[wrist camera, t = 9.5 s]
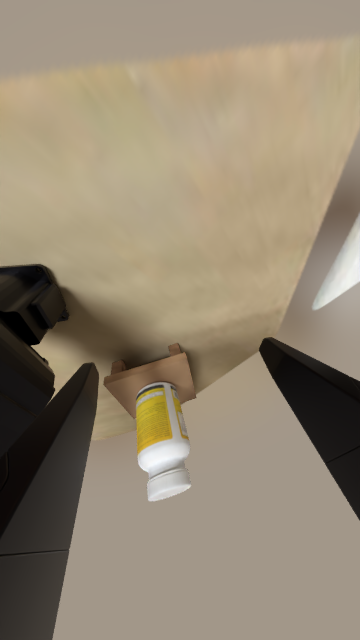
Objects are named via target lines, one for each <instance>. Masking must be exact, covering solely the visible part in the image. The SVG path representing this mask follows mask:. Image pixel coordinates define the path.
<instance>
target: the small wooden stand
mask: <svg viewBox="0 0 360 640" xmlns="http://www.w3.org/2000/svg"><path fill="white" fill-rule="evenodd" d="M168 347H169V351H170V355H171V357H168V358H165V359H162V360H159V361H155V362H152V363H149V364H146V365H142V366H139V367H136V368H133V369H130V370H126V365H125V363H124V362H123V360H121V361H117V362H114V363H112V371H111V375H110V376H107V377H105V378H104V386H105V387H106V388H107V389H108V390H109V391H110V393H111V394H112V395H113V396H114V397H115V398H116V399H117V400H118V401H119V403H120V404H121V405H122V406H123V407H124V408H125V409H126V410H127V411H128V413H129V414H130V415H131V416H132V417H133V418H134V419H135V418H136V396H137V394H138V392H139V391H140V390H141V389H142V388H144V387H145V386H147V385H149V384H152V383H156V382H167V383H170V384H172V385H173V386H174V387H175V388H176V390H177V394H178V398H179V402H180V403H183V402H186V401H189V400H192V399H195V398H196V394H195V389H194V385H193V381H192V377H191V372H190V368H189V364H188V360H187V356H186V354H185V352H184V353H181V352H180V349H179V346H178V343H176V344H173V345H170V346H168Z"/></svg>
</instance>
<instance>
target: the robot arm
mask: <svg viewBox="0 0 360 640" xmlns="http://www.w3.org/2000/svg"><path fill="white" fill-rule="evenodd" d="M37 268H39V269H41V271H42V272H40V271H38V270H37ZM65 307H66V304H65V302H64V300H63V298H62V296H61V294H60V292H59V290H58V288H57V286H56V285H54V284H53V282H52V280H51V278H50V276H49V274H48V272H47V270H46V268H45V267H44V266H43V265H41V264H30V265H16V266H2V267H0V640H52V638H53V633H54V628H55V622H56V617H57V612H58V607H59V601H60V596H61V591H62V586H63V581H64V575H65V571H66V565H67V560H68V555H69V548H70V544H71V539H72V534H73V528H74V523H75V518H76V513H77V508H78V503H79V497H80V493H81V487H82V482H83V477H84V472H85V467H86V461H87V456H88V451H89V446H90V441H91V436H92V431H93V425H94V420H95V415H96V408H97V396H98V383H99V373H98V371H97V369H96V366H95V364H94V363H93V362H91V363H85V364H83V365H82V366H81V367H80V368H79V369H78V370H77V372H76V373H75V374H74V375H73V376H72V377H71V378H70V379H69V381H68V382H67V383H66V384H65V385H64V386H63V387H62V389H61V390H60V391H59V392H58V393H57V394H56V395H55V397H54V398H53V399H52V400H51V398H52V396H53V394H54V392H55V388H54V387H53V386H54V378H55V375H54V373H53V371H52V369H51V368H50V367H49V366H48V361H47V360H46V359H45V358H42V357H41V356H40V355H39V354H38V353H37V352H36V351H35V350H34V349H33V348H32V347H31V345H37V344H39V343H40V342H41V340H42V339H43V337H44V335H45V334H46V332H47V331H48V329H52V328H53V327H54V325H55V323H56V322H59V321H66V320H68V318H69V314H68V312H67V310H66V308H65ZM62 315H64V316H65V317H63V316H62ZM259 351H260V354H261V356H262V358H263V360H264V362H265V364H266V366H267V368H268V370H269V372H270V374H271V376H272V378H273V379H274V381H275V383H276V384H277V386H278V388H279V389H280V391H281V393H282V394H283V396H284V397H285V399H286V401H287V402H288V404H289V406H290V407H291V408H292V411H293V412H294V414H295V415H296V417H297V419H298V420H299V422H300V424H301V425H302V427H303V429H304V430H305V432H306V433H307V435H308V437H309V438H310V440H311V442H312V443H313V445H314V446H315V448H316V450H317V451H318V453H319V454H320V456H321V458H322V460H323V461H324V463H325V465H326V466H327V468H328V469H329V471H330V473H331V475H332V476H333V478H334V479H335V481H336V483H337V484H338V486H339V488H340V489H341V491H342V493H343V494H344V496H345V497H346V499H347V501H348V502H349V504H350V506H351V507H352V509H353V511H354V512H355V514H356V515H357V517H358V519H359V520H360V381H358V380H356V379H354V378H352V377H349V376H348V375H346V374H344V373H342V372H340V371H338V370H336V369H334V368H332V367H330V366H328V365H326V364H324V363H322V362H320V361H318V360H316V359H314V358H312V357H310V356H308V355H306V354H304V353H302V352H300V351H298V350H296V349H294V348H292V347H290V346H288V345H286V344H284V343H282V342H280V341H278V340H276V339H274V338H272V337H268V338H264V339H263V341H262V343H261V345H260V347H259ZM50 400H51V401H50ZM49 401H50V402H49ZM47 404H48V405H47ZM46 405H47V406H46Z"/></svg>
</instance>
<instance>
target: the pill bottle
mask: <svg viewBox="0 0 360 640" xmlns="http://www.w3.org/2000/svg"><path fill="white" fill-rule="evenodd" d="M136 419H137V452H138V463H139V466H140V467H141V469H143V470H144V471H146V472H148V473H149V481H148V482H147V484H148V485H147V492H148V500H149V501H157V500H161V499H165V498H168V497H171V496H174V495H176V494H179V493H181V492H183V491H185V490H187V489H188V488H190V487H191V481H190V477H189V472H188V469H186V468H185V464H184V461H185V460H186V458H187V457H188V455H189V452H190V443H189V439H188V435H187V431H186V426H185V423H184V419H183V415H182V411H181V406H180V402H179V398H178V394H177V390H176V388H175V387H174V386H173V385H172V384H170V383H167V382H156V383H152V384H149V385H147V386H145V387H144V388H142V389H141V390H140V391H139V392H138V394H137V396H136Z"/></svg>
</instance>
